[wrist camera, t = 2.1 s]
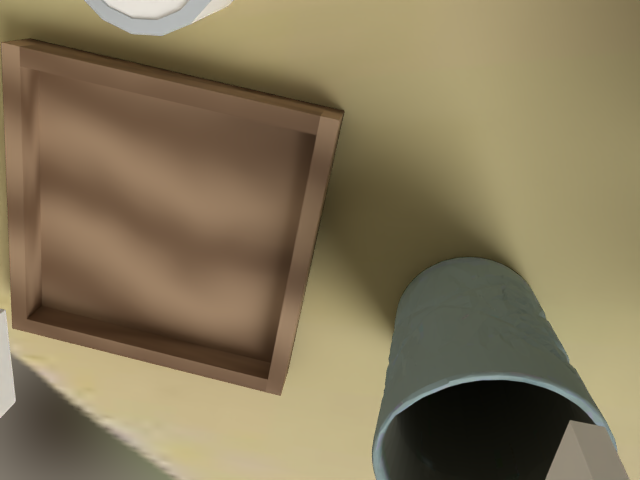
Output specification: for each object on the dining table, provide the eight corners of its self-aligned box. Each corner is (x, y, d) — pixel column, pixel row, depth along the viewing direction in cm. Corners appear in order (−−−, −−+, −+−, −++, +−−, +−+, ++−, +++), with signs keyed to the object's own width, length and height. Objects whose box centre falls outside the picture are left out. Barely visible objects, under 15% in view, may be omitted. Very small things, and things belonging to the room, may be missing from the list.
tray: (29, 38, 32) (1, 42, 29) (344, 111, 31) (339, 120, 29) (34, 308, 39) (12, 328, 37) (287, 371, 38) (280, 395, 36)
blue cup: (578, 272, 33) (663, 413, 22) (513, 404, 37) (559, 577, 26) (407, 227, 33) (409, 343, 22) (363, 363, 37) (347, 517, 27)
